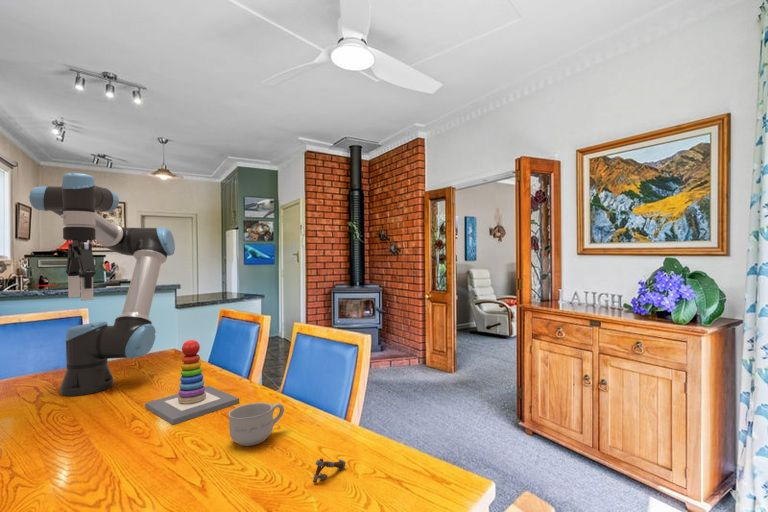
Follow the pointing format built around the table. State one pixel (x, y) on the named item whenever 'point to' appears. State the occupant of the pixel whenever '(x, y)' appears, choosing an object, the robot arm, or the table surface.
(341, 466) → the dark triangular frame
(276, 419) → the teacup
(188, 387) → the stacking toy
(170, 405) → the plate
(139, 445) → the table surface
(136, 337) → the robot arm
